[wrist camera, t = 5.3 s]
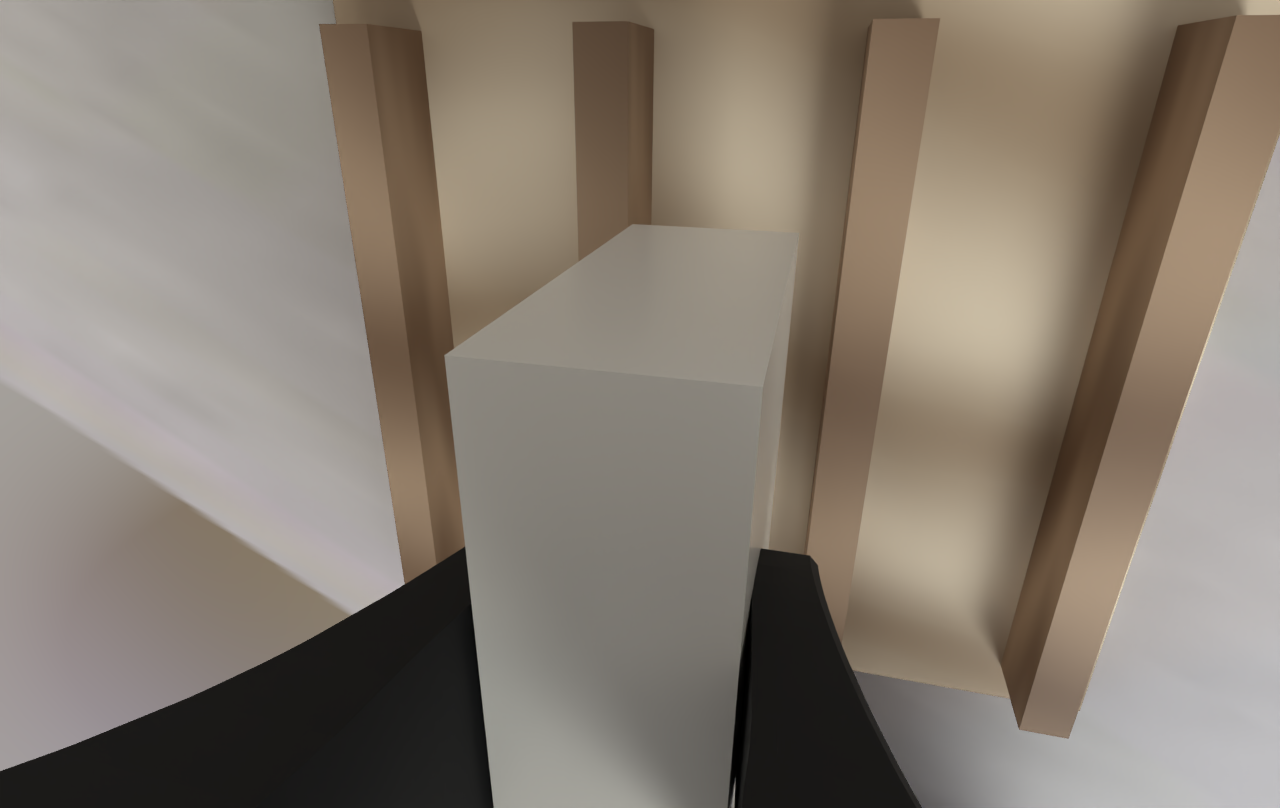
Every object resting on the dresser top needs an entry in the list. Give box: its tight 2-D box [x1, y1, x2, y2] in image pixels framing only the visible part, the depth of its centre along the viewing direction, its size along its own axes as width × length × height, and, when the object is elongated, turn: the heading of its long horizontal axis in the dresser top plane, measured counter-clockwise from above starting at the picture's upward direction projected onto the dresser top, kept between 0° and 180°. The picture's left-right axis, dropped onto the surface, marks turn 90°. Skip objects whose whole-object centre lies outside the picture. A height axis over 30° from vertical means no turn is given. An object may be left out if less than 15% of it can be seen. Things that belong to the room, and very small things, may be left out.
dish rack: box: [319, 0, 1280, 739], centre depth 16 cm, size 16×18×3 cm
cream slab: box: [444, 224, 799, 808], centre depth 10 cm, size 8×2×6 cm, turn 0°
